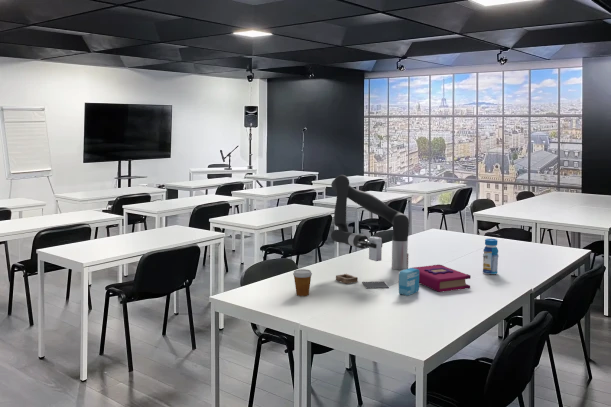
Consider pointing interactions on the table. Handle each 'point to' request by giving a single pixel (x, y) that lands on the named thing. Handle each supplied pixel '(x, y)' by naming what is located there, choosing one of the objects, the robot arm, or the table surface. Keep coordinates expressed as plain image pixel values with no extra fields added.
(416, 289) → the data package
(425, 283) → the book
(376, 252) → the light grey rectangular block
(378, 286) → the black mat
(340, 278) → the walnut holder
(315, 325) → the table surface
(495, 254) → the beverage bottle
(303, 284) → the disposable coffee cup
